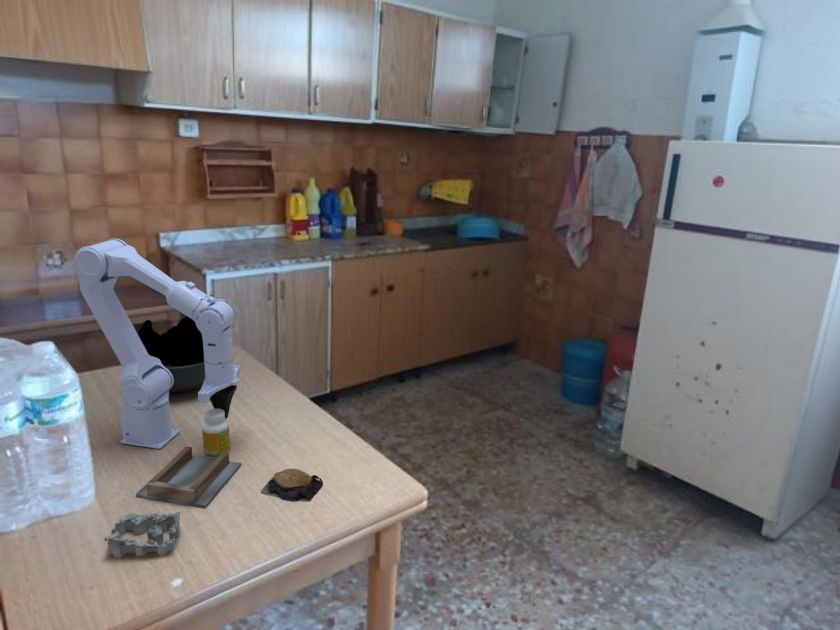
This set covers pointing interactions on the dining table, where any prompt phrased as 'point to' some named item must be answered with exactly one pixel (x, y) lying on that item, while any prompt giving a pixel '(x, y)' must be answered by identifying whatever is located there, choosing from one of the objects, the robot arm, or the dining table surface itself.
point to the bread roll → (293, 485)
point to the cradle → (190, 479)
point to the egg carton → (140, 525)
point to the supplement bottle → (215, 433)
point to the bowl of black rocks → (177, 352)
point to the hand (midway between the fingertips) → (222, 417)
